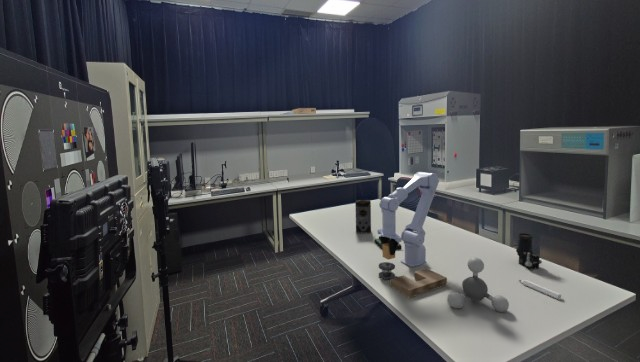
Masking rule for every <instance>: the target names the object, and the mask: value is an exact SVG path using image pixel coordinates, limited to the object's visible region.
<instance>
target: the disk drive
mask: <svg viewBox="0 0 640 362" xmlns="http://www.w3.org/2000/svg"><path fill="white" fill-rule="evenodd" d="M390 240H391V238H390ZM374 244H375V245H377V247H379V248H380V249H381V250H382V251H383V247H382V244H381V241H380V239H379V238H374ZM402 246H403V245H402V244H401V243H399V244H398V245H397V248H396V251H398V250H400V251H401V250H402Z"/></svg>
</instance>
